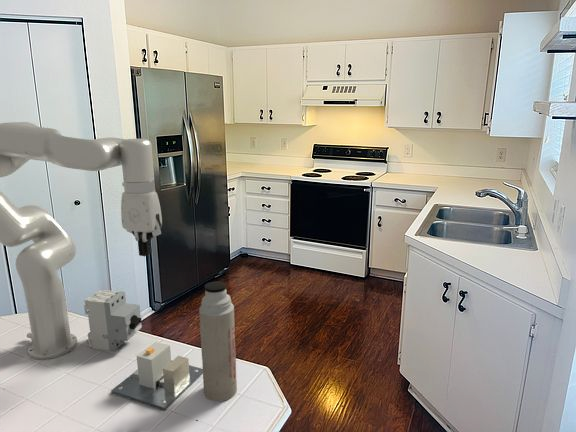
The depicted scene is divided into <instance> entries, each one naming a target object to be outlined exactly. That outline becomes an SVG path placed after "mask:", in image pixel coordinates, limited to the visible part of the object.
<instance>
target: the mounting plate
mask: <svg viewBox="0 0 576 432" xmlns="http://www.w3.org/2000/svg"><path fill="white" fill-rule="evenodd" d="M189 363H190V362H189V357H185V356H182V355H177V356H176V357H175V358H174V359H173V360H172V359H171V362H170V363H169V364H168V365H167V366H165V367H164V368H163V376H162V377H161V378H160V379H159V380H158V381H156V388H155V389H152V388H149V387H146V386H143V385H140V384H139V375H138V368H137V369H136V370H135V371H134V372H132V374H130V375H129V376H128V377H126V378H125V379H124V380H123V381H121V382H120V383H119V384H117V385H116V386H114V388H112V389H111V390H110V393H111V394H113V395H116V396H119V397H122V398H125V399H128V400H131V401H134V402H138V403H140V404H144V405H146V406H149V407H151V408H155V409H159V410H160V411H161V410H162V411H164V412H165V411H166V410H168V408H170V407H171V405H173V404H174V403H175V402H176V401H177V400H178V399H179V398H180V397H181V396H182V394H184V393H185V392H186V391H187V390H188V389H189V388H190V387H191V386H192V385H193V384H194V383H195V382H196V381H197V380H198V379H199V378H200V377H201V376H203V368H201V367H196V366H193V365H190V364H189Z"/></svg>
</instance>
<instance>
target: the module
mask: <svg viewBox="0 0 576 432" xmlns="http://www.w3.org/2000/svg"><path fill="white" fill-rule="evenodd" d="M171 354H172V353H171V345H170V344H167V343H163V342H159V341H155V342H153V343H151V344H150V345H149V346H148V347H147V348H145V349H144V350H142V351H141V352H140V353H138V354H137V355H136V363H137V369H138V375H139V384H140V385H143V386H146V387H149V388H152V389H155V388H156V381H158V380H159V379H160V378H161V377H162V376H163V368H164V367H165V366H167V365H168V364H169V363H170V362H171V360H172V355H171Z"/></svg>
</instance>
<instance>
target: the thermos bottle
mask: <svg viewBox="0 0 576 432" xmlns="http://www.w3.org/2000/svg"><path fill="white" fill-rule="evenodd" d="M204 290H205V292H204V293H205V294H204V296H203V297H202V299H201V302H200V304H201V305H200V307H199V309H198V311H199V313H198V314H199V315H198V316H199V329H200V330H199V332H200V345H201V347H200V348H201V361H202V369H203V374H202V380H203V382H202V383H203V395H204V396H205V398H206V399H207V400H209V401H211V402H215V403H216V402H224V401H228V400H230V399H232V398H233V397H234V396H235V395H236V393H237V391H238V390H237V389H238V387H237V385H238V384H237V382H238V381H237V361H236V360H237V357H236V334H235V333H236V329H235V328H236V326H235V306H234V304H233V303H232V299H231V295H230V294H227V283H225V282H224V281H211V282H207V283H205V284H204Z"/></svg>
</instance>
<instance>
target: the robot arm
mask: <svg viewBox="0 0 576 432" xmlns="http://www.w3.org/2000/svg"><path fill="white" fill-rule="evenodd" d="M153 158H154V157H153V145H152V142H151V141H150V140H149V139H146V138H118V137H101V138H96V139H87V138H79V137H78V138H77V137H72V136H71V137H70V136H67V135H66V136H65V135H62V133H61V132H60V130H57V129H55V128H51V127H43V126H38V125H36V124H34V123H32V122H27V121H17V122H15V121H12V122H10V121H9V122H1V123H0V178H4V177H7V176H10V175H12V174H14V173H15V172H16V171H18V170H19V169H20V168H21V167H23V166H24V165H25V164H26V163H28V162H29V161H30V160H35V161H42V162H48V163H51V164H53V165H56V166H59V167H62V168H66V169H72V170H73V169H74V170H80V171H81V170H82V171H89V172H99V171H100V172H101V171H104V170H107V169H111V168H114V167H119V166H120V167H121V166H122V167H121V170H122V177H123V178H122V179H123V181H122V184H121V185H122V187H123V188H124V189H123V190H124V191H123V192H122V193H121V200H120V216H121V219H120V220H121V226H122V228H123V229H124V230H125V231H126V232H127V233H129V234H132V235H133V236H134V239H135V241H136V242H137V246H138V247H137V248H138V256H140V257H147V256H148V255H151V254H153V250H152V240H153V239H154V237H157V236H159V235H161V234H162V231H161V228H162V226H163V217H162V209H161V208H162V207H161V205H160V199H159V195H158V193H157V192H156V187H155V186H156V185H155V172H154V171H155V170H154V159H153ZM31 241H32V242H33V243H31V244H29V245H28V246H26V247H24V248H23V249H22V250H21V251H20V252H19V253H18V254H17V256H16V258H15V270H16V272H17V275H18V277H19V279H20V282H21V284H22V289H23V293H24V297H25V303H26V308H27V313H28V321H29V326H30V327H29V328H30V332H28V333H27V334H26V338H29V339H30V340H31V344H30V345H29V346H28V348H27V355H28V356H29V357H30V358H32V359H35V360H49V359H54V358H58V357H60V356H63V355H65V354H67V353H69V352H71V351H72V350H73V349H74V348H75V347H76V346H77V345H78V337H77V336H76V335H75V334H73V333H71V329H70V328H71V327H70V321H69V315H68V306H67V302H66V299H67V298H66V294H65V293H66V292H65V287H64V284H63V281H62V280H61V278H60V277H59V275H58V273H57V271H58V270H60V269H61V268H63V267H64V266H66V265H67V264H69V263H70V262H72V261H73V260H74V258H75V257H76V253H77V250H76V244H75V242H74V241H73V239H72V238H71V237H70V235H69V234H68V233H67V232H66V231H65V229H63V227H62V226H61V224H59V223H58V222H57V220H56V219H55V218H54V217H53V215H51V213H49V212H48V211H47V210H46V209H45V208H43V207H40V206H37V205H35V204H34V205H31V204H29V205H24V206H21V207H17V206H15V204H13V202H12V201H10V199H9V198H8V197H7V195H5V194H4V193H3V192H2V191H1V190H0V244H1V245H3V246H5V247H8V248H13V247H19V246H20V245H21V246H22V245H24V244H25V243H28V242H31Z"/></svg>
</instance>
